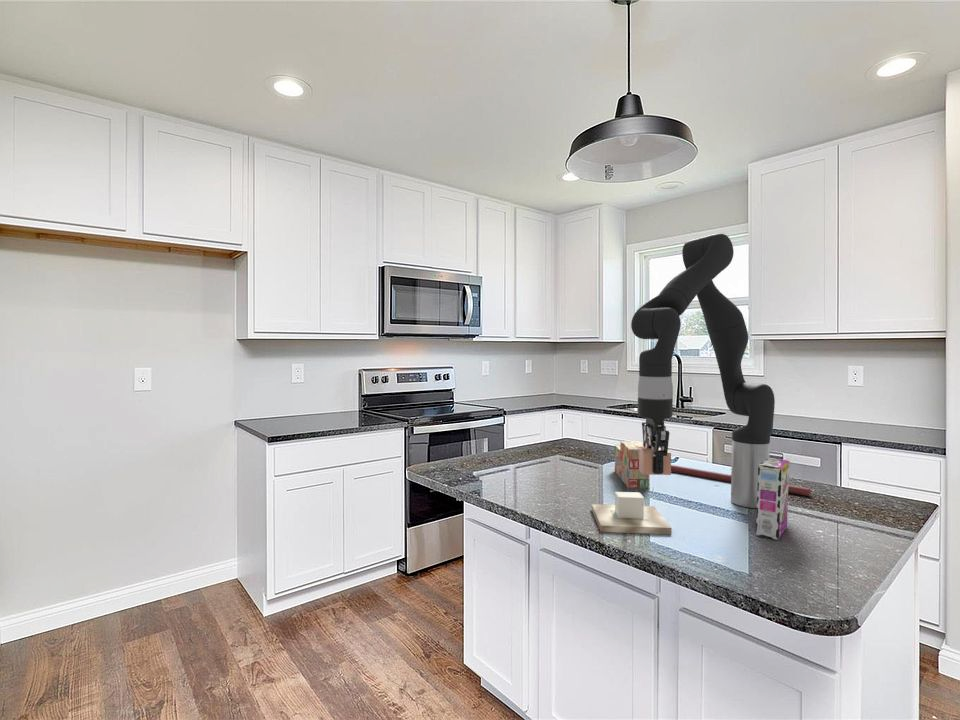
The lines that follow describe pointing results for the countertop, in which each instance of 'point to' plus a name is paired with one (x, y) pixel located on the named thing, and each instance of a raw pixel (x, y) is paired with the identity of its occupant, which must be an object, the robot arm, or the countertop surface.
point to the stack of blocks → (630, 464)
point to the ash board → (630, 521)
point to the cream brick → (629, 505)
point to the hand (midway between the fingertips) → (654, 470)
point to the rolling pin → (728, 478)
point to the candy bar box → (772, 498)
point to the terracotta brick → (647, 462)
